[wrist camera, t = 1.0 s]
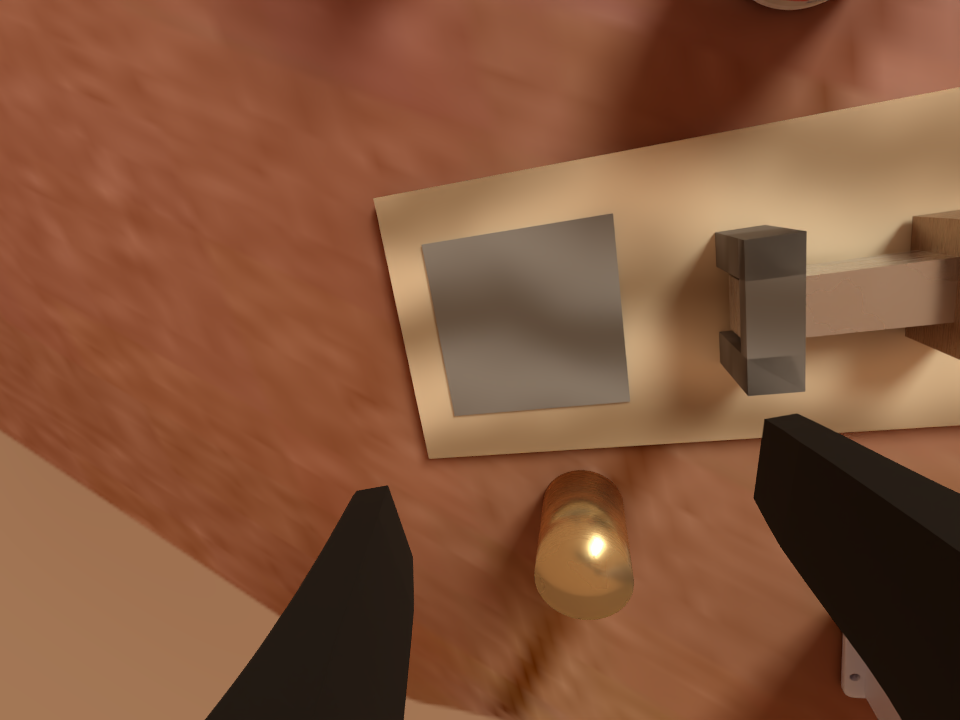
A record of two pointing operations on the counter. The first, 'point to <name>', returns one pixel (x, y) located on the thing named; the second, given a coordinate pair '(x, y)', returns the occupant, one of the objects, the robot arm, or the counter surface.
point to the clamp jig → (670, 287)
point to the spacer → (583, 547)
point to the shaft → (888, 289)
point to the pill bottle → (789, 4)
